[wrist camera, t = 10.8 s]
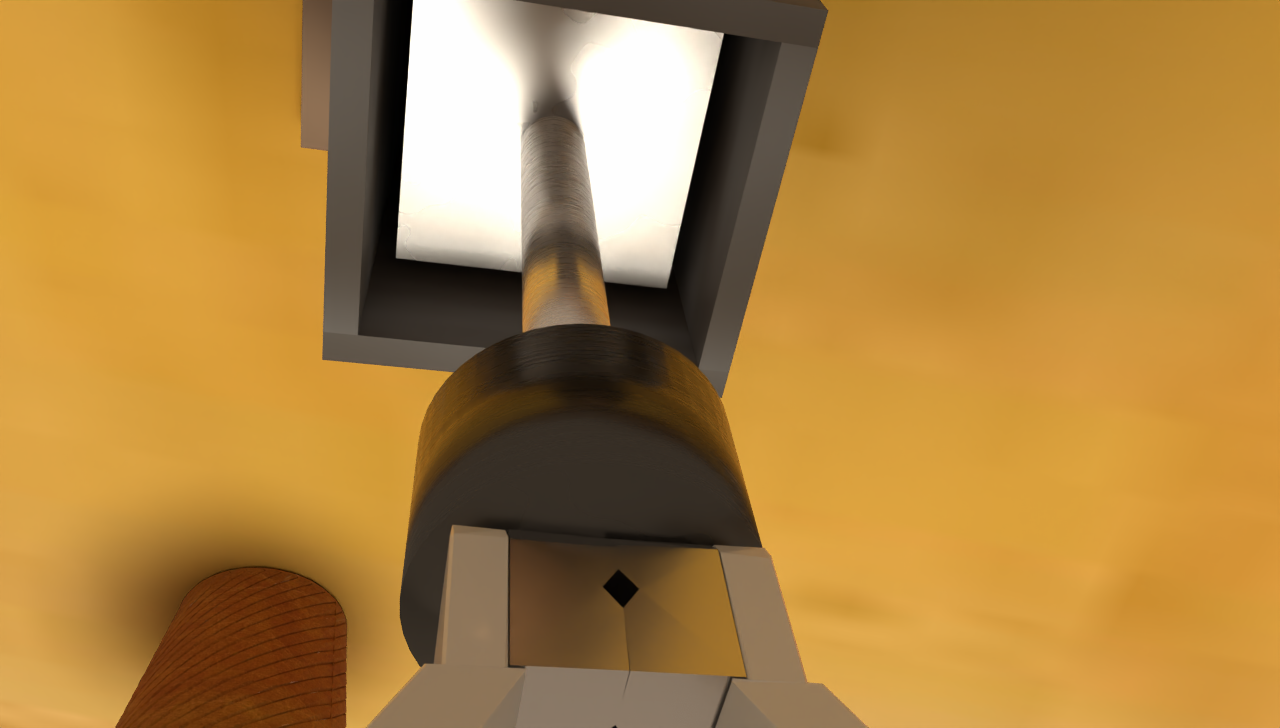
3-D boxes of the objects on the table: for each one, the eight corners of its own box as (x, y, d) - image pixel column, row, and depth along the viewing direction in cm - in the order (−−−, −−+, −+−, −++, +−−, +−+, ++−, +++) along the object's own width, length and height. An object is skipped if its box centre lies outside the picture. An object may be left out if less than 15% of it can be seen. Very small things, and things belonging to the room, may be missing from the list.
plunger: (418, -37, 19) (305, 353, 9) (718, 11, 20) (936, 413, 10) (399, 238, 22) (298, 773, 11) (661, 269, 23) (782, 786, 12)
